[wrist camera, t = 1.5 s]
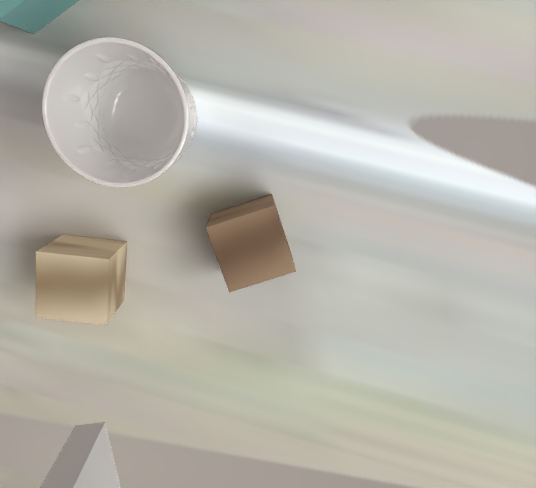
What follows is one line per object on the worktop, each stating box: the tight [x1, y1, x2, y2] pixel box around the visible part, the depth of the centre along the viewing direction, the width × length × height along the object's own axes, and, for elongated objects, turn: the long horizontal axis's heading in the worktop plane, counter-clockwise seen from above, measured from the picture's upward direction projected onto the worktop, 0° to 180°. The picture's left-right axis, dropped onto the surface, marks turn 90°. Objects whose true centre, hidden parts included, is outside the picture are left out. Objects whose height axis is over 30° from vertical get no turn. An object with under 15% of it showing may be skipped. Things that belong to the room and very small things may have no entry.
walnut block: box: [206, 194, 296, 292], centre depth 36 cm, size 5×5×5 cm
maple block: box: [36, 234, 127, 325], centre depth 36 cm, size 5×5×5 cm
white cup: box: [42, 37, 198, 187], centre depth 31 cm, size 8×8×10 cm
